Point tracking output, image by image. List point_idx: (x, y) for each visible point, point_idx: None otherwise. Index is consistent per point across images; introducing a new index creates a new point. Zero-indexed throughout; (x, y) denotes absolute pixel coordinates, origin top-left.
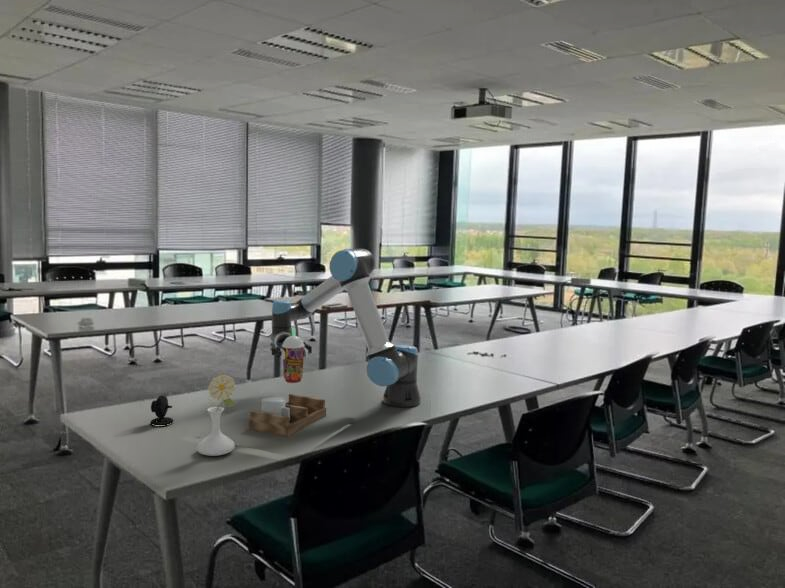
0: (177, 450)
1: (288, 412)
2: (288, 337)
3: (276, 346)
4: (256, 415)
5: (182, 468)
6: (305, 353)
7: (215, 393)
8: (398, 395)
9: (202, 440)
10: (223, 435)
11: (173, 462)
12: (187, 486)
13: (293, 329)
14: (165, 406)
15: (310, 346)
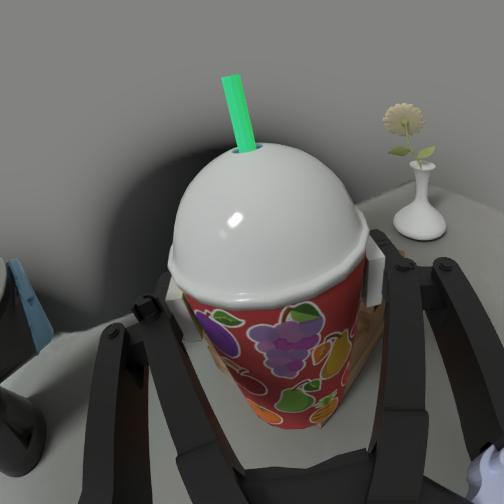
0: (472, 232)
1: None
2: (297, 150)
3: (476, 488)
4: None
5: (431, 202)
6: None
7: (412, 128)
8: (20, 398)
9: (438, 212)
10: (410, 206)
11: (451, 210)
12: (403, 183)
13: (233, 84)
14: None
15: (111, 326)
